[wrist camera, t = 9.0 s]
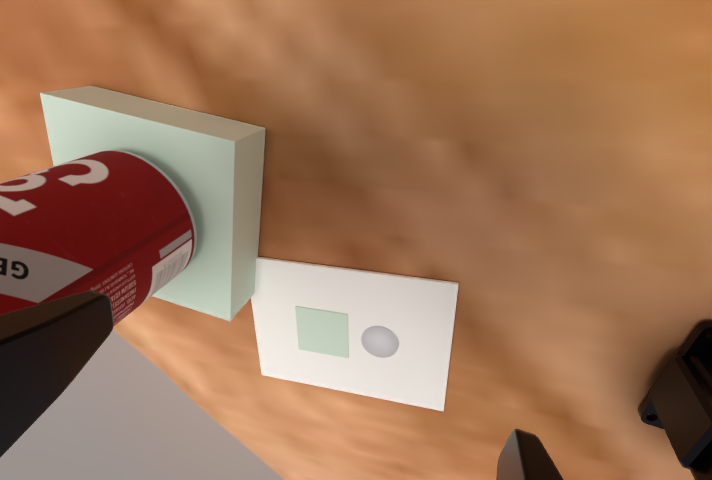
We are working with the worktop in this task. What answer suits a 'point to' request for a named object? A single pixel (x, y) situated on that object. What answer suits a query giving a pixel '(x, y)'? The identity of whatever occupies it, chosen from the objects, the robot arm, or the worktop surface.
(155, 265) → the soda can
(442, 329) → the page
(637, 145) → the worktop surface
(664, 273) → the worktop surface
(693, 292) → the worktop surface
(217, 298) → the base brick
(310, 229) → the worktop surface
